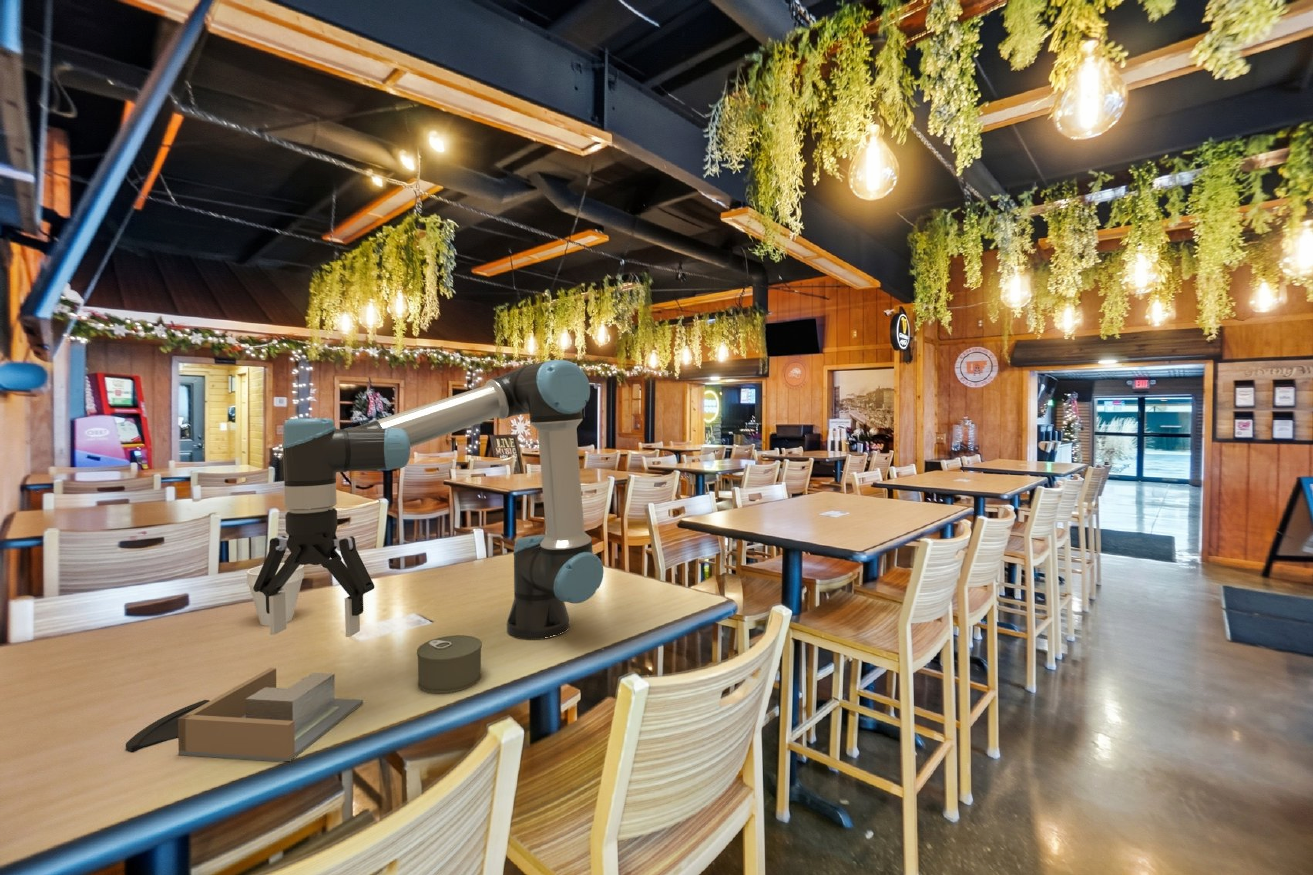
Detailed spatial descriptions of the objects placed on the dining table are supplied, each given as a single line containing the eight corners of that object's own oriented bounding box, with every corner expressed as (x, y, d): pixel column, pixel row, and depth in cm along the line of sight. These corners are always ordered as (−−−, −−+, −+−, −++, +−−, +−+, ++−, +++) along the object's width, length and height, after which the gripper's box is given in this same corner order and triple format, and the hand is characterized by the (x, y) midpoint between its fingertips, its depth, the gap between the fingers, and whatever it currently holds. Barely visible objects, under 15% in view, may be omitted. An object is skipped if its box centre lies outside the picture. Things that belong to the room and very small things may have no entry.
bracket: (292, 739, 89) (292, 701, 89) (246, 736, 90) (245, 699, 90) (334, 707, 99) (334, 673, 99) (292, 705, 100) (291, 671, 100)
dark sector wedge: (108, 747, 89) (108, 737, 89) (205, 708, 102) (204, 699, 102) (138, 759, 86) (138, 748, 86) (234, 717, 98) (234, 707, 98)
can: (445, 701, 103) (445, 664, 103) (403, 685, 110) (403, 650, 109) (494, 676, 114) (494, 642, 114) (454, 663, 120) (454, 631, 120)
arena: (362, 703, 102) (362, 672, 102) (288, 762, 84) (288, 725, 84) (270, 698, 104) (270, 668, 104) (178, 755, 86) (178, 718, 86)
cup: (235, 625, 141) (234, 571, 141) (284, 610, 153) (283, 560, 153) (268, 632, 137) (267, 576, 137) (316, 616, 148) (315, 564, 148)
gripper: (393, 506, 99) (397, 626, 99) (260, 505, 101) (264, 623, 102) (367, 513, 91) (371, 643, 92) (224, 512, 94) (229, 639, 94)
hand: (315, 633), depth 97 cm, fingers open, 13 cm apart
